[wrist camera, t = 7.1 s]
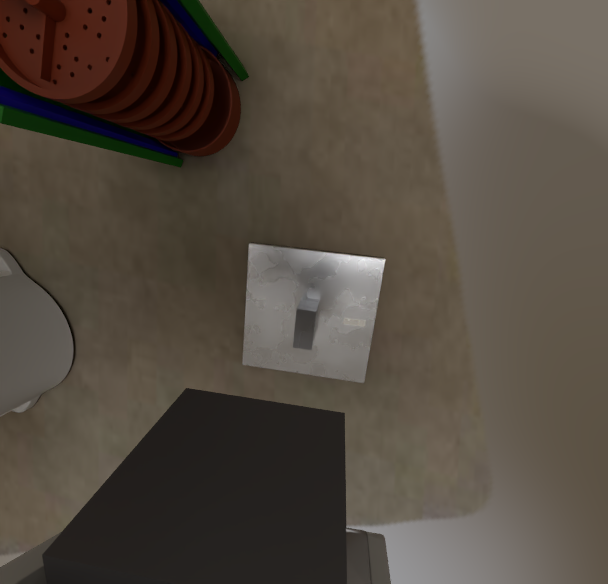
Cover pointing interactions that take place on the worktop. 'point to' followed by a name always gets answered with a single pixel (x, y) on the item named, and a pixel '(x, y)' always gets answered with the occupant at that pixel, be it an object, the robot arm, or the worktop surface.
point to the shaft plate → (336, 301)
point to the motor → (119, 75)
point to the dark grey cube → (217, 501)
